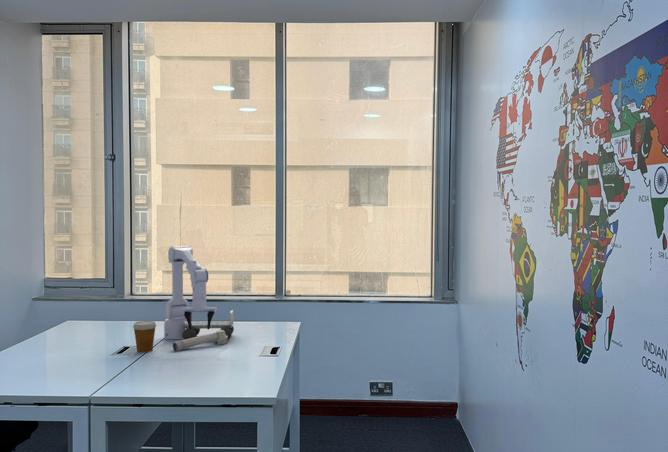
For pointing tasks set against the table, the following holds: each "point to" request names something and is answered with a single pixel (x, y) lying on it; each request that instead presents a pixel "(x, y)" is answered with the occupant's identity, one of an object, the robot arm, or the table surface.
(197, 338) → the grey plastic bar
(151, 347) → the disposable coffee cup
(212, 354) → the table surface
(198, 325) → the trolley
